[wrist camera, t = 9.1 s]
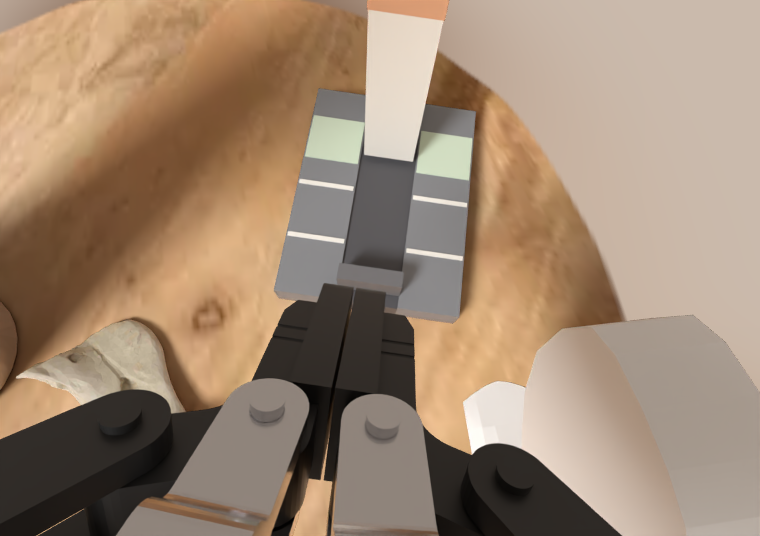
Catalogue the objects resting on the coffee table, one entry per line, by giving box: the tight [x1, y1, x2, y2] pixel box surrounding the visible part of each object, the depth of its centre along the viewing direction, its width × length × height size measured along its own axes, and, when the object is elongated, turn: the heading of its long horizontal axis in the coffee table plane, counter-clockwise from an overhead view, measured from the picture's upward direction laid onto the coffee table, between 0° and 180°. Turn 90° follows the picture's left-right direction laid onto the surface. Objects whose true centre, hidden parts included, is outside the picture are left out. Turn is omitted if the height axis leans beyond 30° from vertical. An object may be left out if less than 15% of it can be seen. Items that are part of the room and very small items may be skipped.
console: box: [274, 88, 476, 323], centre depth 31 cm, size 12×16×4 cm
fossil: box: [16, 319, 186, 413], centre depth 27 cm, size 7×11×4 cm, turn 36°
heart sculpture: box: [463, 315, 760, 536], centre depth 19 cm, size 16×5×18 cm, turn 7°
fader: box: [364, 0, 449, 162], centre depth 26 cm, size 4×4×13 cm
